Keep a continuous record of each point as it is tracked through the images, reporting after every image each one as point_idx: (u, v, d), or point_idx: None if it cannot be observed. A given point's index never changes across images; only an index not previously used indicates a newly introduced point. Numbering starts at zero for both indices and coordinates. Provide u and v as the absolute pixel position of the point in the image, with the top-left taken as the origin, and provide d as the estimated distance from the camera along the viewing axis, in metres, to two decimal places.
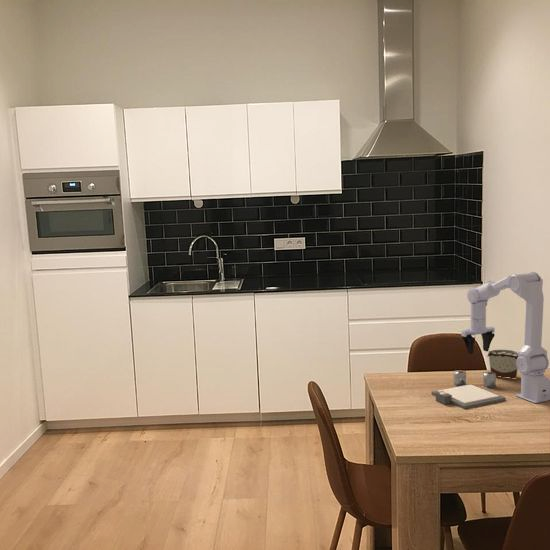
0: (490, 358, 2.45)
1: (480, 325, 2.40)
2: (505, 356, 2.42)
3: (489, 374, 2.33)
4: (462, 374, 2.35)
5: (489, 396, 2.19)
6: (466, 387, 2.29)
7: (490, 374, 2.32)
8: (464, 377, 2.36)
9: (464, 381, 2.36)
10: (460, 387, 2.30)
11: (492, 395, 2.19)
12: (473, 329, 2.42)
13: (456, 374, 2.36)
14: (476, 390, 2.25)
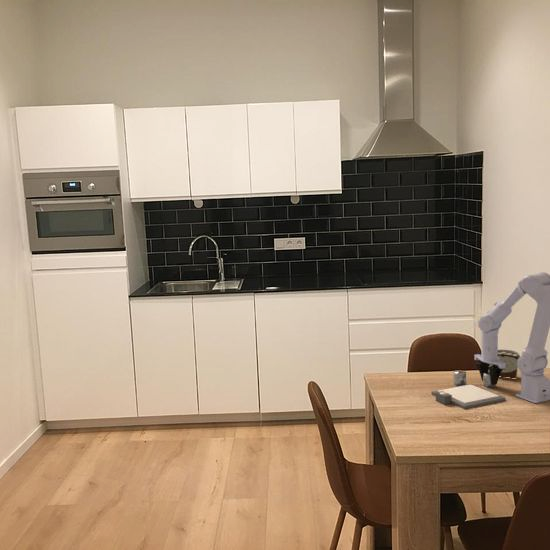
0: None
1: None
2: (505, 356, 2.42)
3: (489, 374, 2.33)
4: (462, 374, 2.35)
5: (489, 396, 2.19)
6: (466, 387, 2.29)
7: None
8: (464, 377, 2.36)
9: (464, 381, 2.36)
10: (460, 387, 2.30)
11: (492, 395, 2.19)
12: None
13: (456, 374, 2.36)
14: (476, 390, 2.25)
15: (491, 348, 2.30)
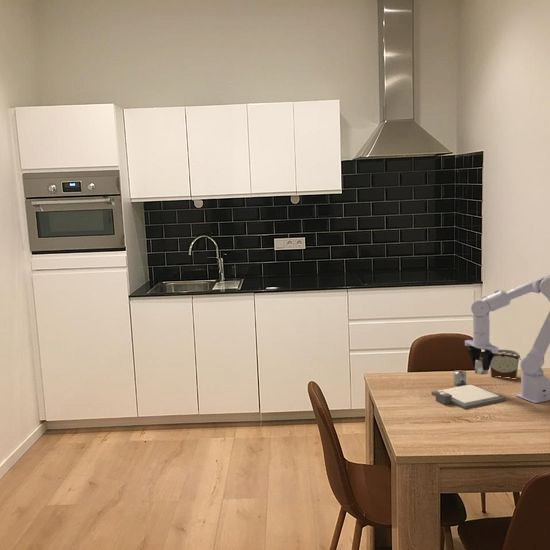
0: None
1: (473, 338, 2.27)
2: (505, 356, 2.42)
3: (481, 360, 2.27)
4: (462, 374, 2.35)
5: (489, 396, 2.19)
6: (466, 387, 2.29)
7: (482, 360, 2.27)
8: (464, 377, 2.36)
9: (464, 381, 2.36)
10: (460, 387, 2.30)
11: (492, 395, 2.19)
12: None
13: (456, 374, 2.36)
14: (476, 390, 2.25)
15: (485, 332, 2.24)
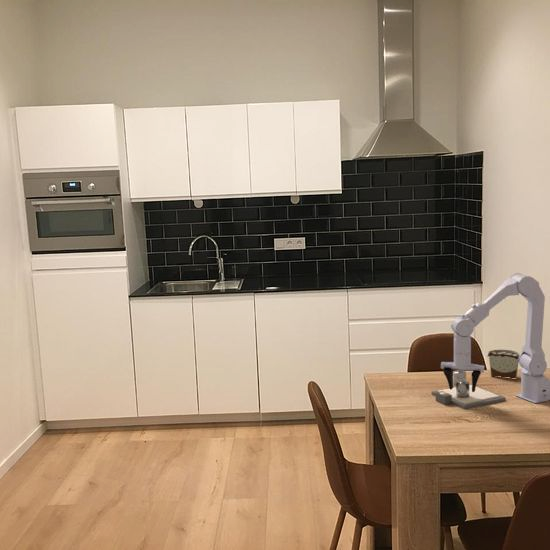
0: (490, 358, 2.45)
1: (457, 360, 2.16)
2: (505, 356, 2.42)
3: (465, 383, 2.18)
4: (462, 374, 2.35)
5: (489, 396, 2.19)
6: None
7: (465, 383, 2.18)
8: (464, 377, 2.36)
9: None
10: None
11: (492, 395, 2.19)
12: (453, 363, 2.19)
13: (456, 374, 2.36)
14: (476, 390, 2.25)
15: (470, 352, 2.16)
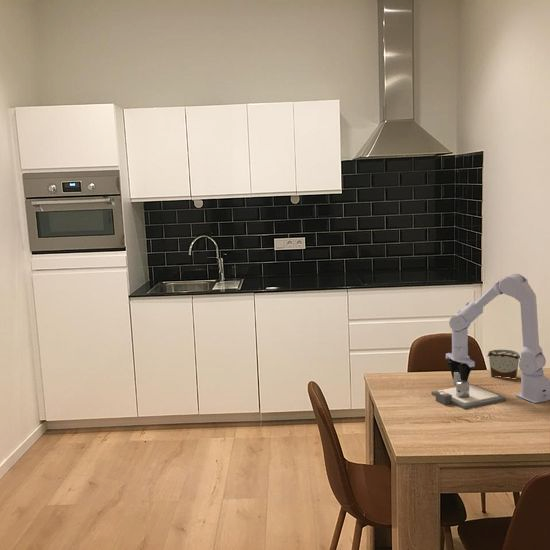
0: (490, 358, 2.45)
1: (452, 352, 2.36)
2: (505, 356, 2.42)
3: (465, 383, 2.18)
4: None
5: (489, 396, 2.19)
6: None
7: (465, 383, 2.18)
8: None
9: None
10: None
11: (492, 395, 2.19)
12: None
13: (457, 374, 2.36)
14: (476, 390, 2.25)
15: (463, 347, 2.33)
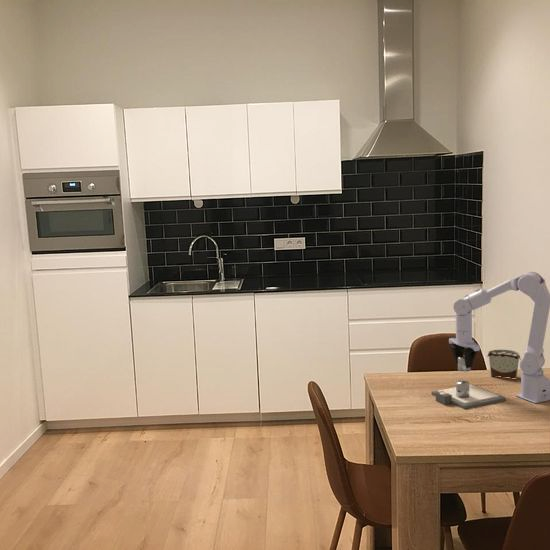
0: (490, 358, 2.45)
1: (456, 336, 2.32)
2: (505, 356, 2.42)
3: (465, 383, 2.18)
4: None
5: (489, 396, 2.19)
6: None
7: (465, 383, 2.18)
8: None
9: None
10: None
11: (492, 395, 2.19)
12: None
13: (461, 359, 2.31)
14: (476, 390, 2.25)
15: (467, 331, 2.29)
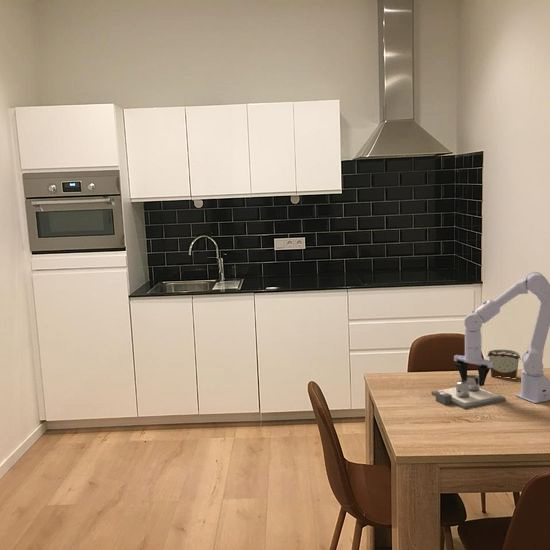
0: (490, 358, 2.45)
1: (466, 354, 2.24)
2: (505, 356, 2.42)
3: (465, 383, 2.18)
4: (478, 378, 2.24)
5: (489, 396, 2.19)
6: None
7: (465, 383, 2.18)
8: None
9: (479, 385, 2.25)
10: None
11: (492, 395, 2.19)
12: None
13: (472, 379, 2.24)
14: None
15: (479, 347, 2.22)
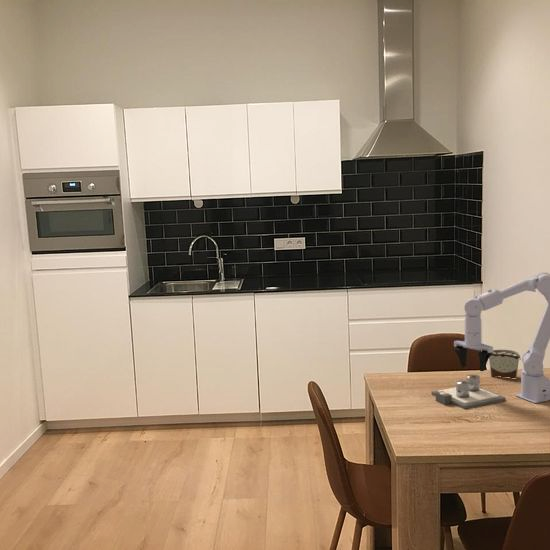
0: (490, 358, 2.45)
1: (466, 339, 2.23)
2: (505, 356, 2.42)
3: (465, 383, 2.18)
4: (478, 378, 2.24)
5: (489, 396, 2.19)
6: None
7: (465, 383, 2.18)
8: (479, 381, 2.25)
9: (479, 385, 2.25)
10: None
11: (492, 395, 2.19)
12: None
13: (473, 379, 2.24)
14: None
15: (479, 332, 2.21)
